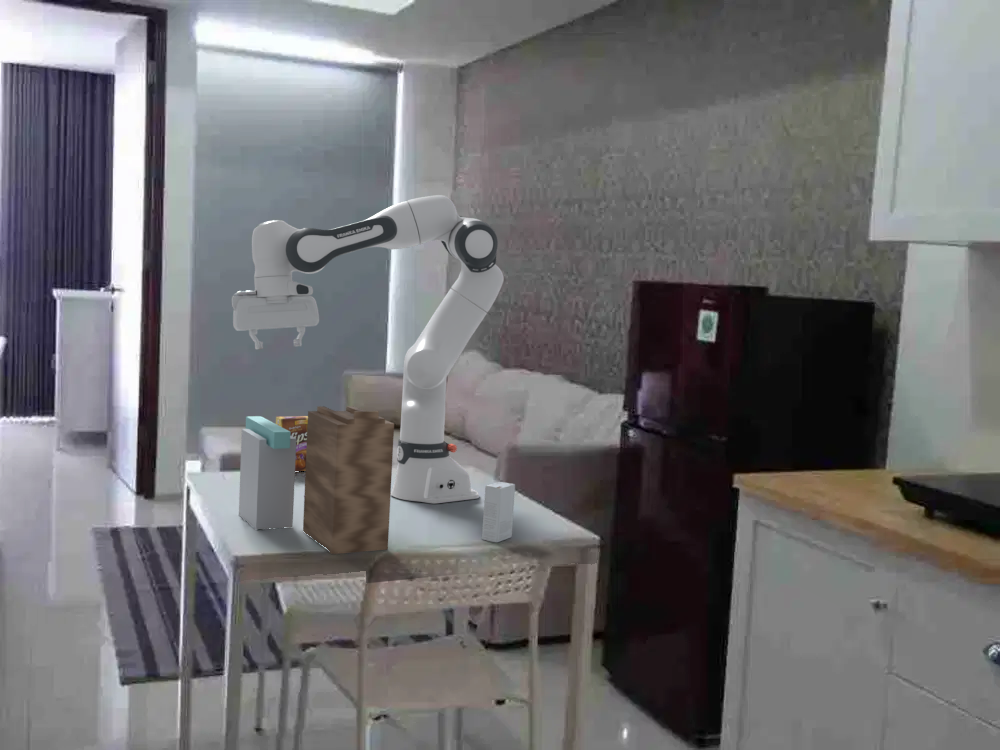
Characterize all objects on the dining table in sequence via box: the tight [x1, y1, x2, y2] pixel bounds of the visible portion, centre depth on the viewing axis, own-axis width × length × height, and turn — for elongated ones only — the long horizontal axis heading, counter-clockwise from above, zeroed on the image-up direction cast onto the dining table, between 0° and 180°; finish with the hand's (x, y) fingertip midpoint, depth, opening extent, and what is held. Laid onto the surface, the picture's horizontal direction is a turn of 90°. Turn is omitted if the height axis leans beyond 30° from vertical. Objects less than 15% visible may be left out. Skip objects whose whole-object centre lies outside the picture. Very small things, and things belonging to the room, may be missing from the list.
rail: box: [245, 415, 291, 449], centre depth 226 cm, size 4×22×4 cm, turn 29°
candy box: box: [275, 415, 308, 471], centre depth 282 cm, size 9×4×15 cm, turn 123°
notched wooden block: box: [302, 405, 395, 555], centre depth 214 cm, size 12×18×28 cm, turn 29°
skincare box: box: [481, 481, 516, 543], centre depth 224 cm, size 6×4×12 cm
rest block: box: [238, 428, 296, 530], centre depth 226 cm, size 8×14×20 cm, turn 29°
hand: (278, 347), depth 246 cm, fingers open, 8 cm apart
